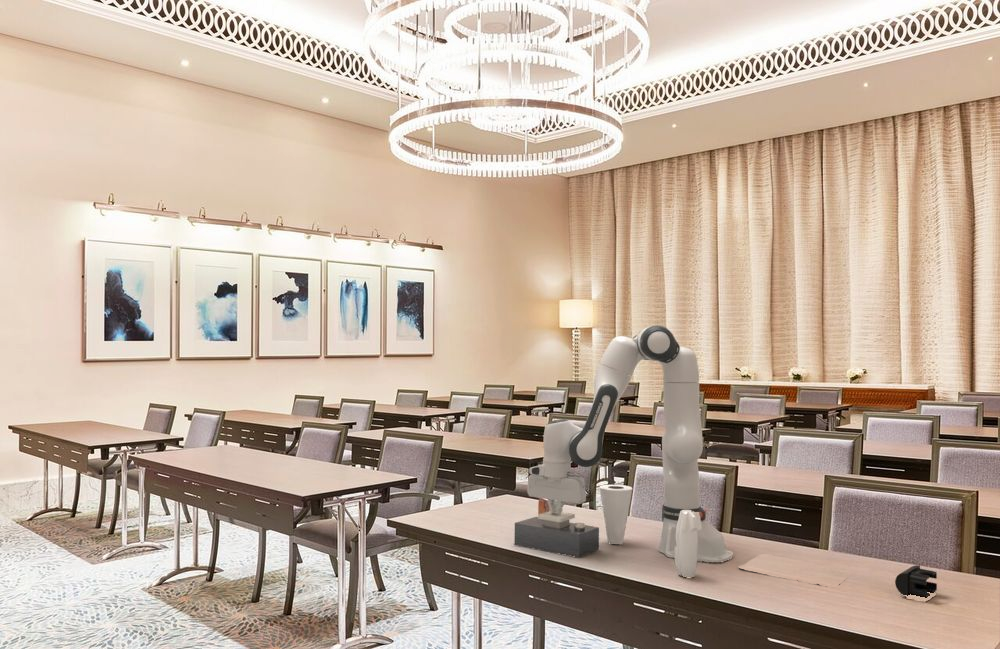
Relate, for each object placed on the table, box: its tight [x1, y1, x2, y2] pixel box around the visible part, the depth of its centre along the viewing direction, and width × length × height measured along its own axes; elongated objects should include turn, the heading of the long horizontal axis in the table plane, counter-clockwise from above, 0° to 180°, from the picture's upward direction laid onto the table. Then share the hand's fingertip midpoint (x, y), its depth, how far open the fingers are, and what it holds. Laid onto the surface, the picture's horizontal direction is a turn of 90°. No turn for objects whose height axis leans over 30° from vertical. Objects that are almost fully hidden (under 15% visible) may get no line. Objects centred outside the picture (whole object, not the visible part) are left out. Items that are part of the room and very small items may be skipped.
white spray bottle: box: [674, 510, 702, 578], centre depth 207 cm, size 7×18×7 cm
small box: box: [537, 498, 563, 516], centre depth 262 cm, size 8×6×10 cm
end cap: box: [894, 565, 938, 598], centre depth 192 cm, size 10×7×7 cm
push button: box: [537, 511, 576, 529], centre depth 236 cm, size 8×8×7 cm
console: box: [513, 516, 600, 559], centre depth 236 cm, size 24×12×9 cm, turn 53°
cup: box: [598, 484, 633, 545], centre depth 243 cm, size 11×11×18 cm
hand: (555, 514), depth 236 cm, fingers closed
